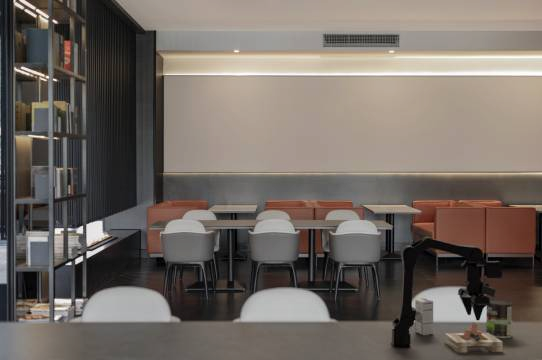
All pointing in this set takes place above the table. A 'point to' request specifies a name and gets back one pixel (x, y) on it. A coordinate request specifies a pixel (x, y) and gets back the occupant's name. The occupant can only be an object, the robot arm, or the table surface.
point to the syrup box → (424, 316)
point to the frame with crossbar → (473, 342)
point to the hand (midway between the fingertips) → (473, 317)
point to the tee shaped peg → (472, 332)
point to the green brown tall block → (499, 318)
